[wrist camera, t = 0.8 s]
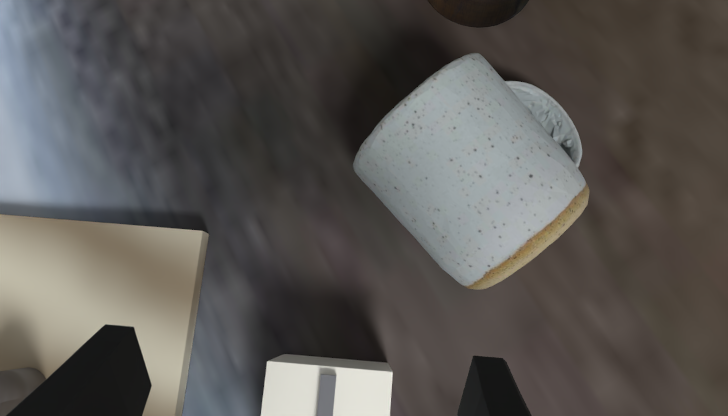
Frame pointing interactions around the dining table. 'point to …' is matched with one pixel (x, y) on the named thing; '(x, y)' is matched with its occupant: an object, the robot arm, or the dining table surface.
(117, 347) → the robot arm
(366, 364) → the white cabinet with handle
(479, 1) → the mortar and pestle
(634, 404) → the dining table surface
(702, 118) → the dining table surface
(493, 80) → the ceramic mug
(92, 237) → the board
